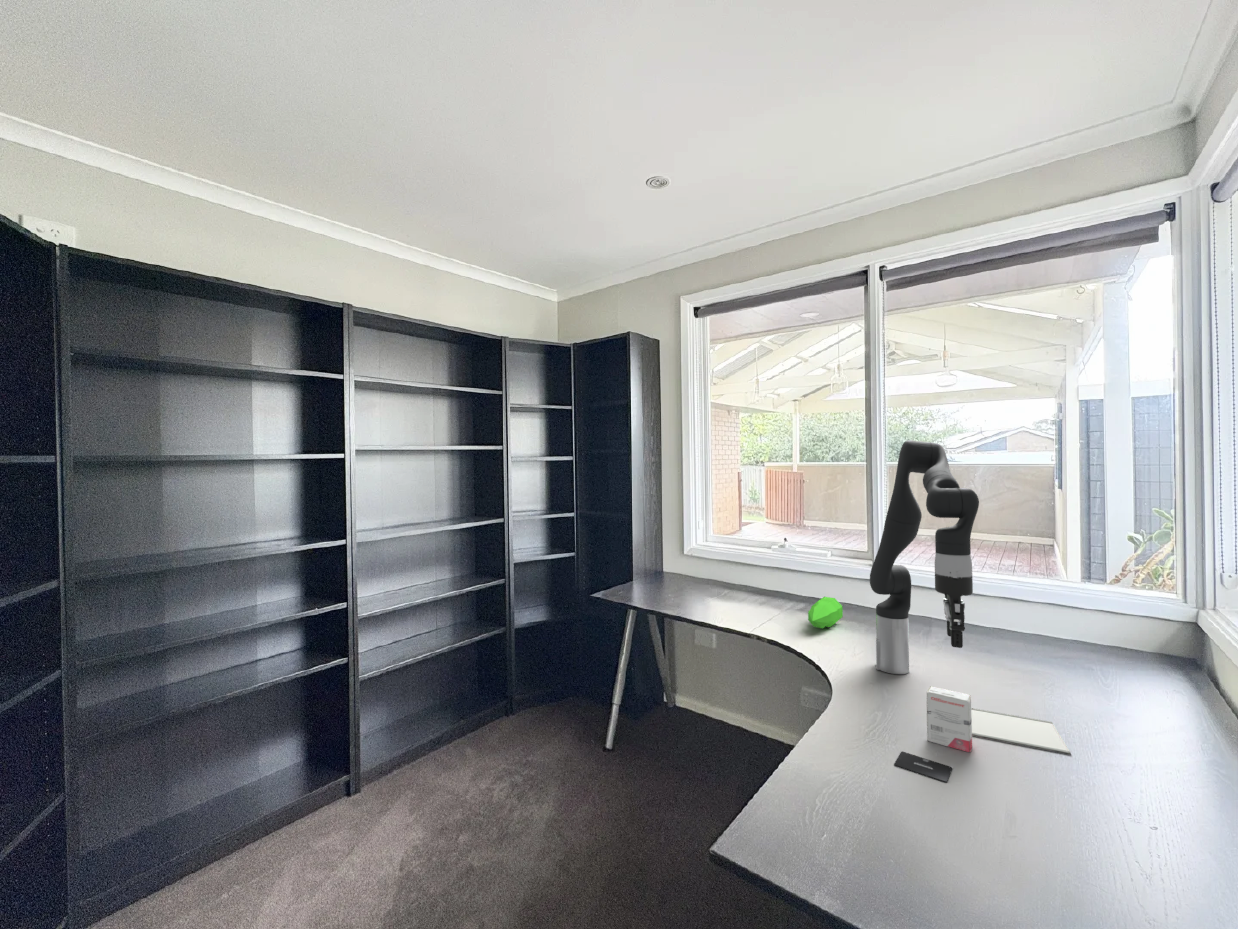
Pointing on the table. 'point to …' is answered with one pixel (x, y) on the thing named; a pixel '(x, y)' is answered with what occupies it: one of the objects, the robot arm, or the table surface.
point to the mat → (1017, 730)
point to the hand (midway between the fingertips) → (954, 641)
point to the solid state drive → (923, 767)
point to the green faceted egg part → (825, 612)
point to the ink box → (949, 718)
